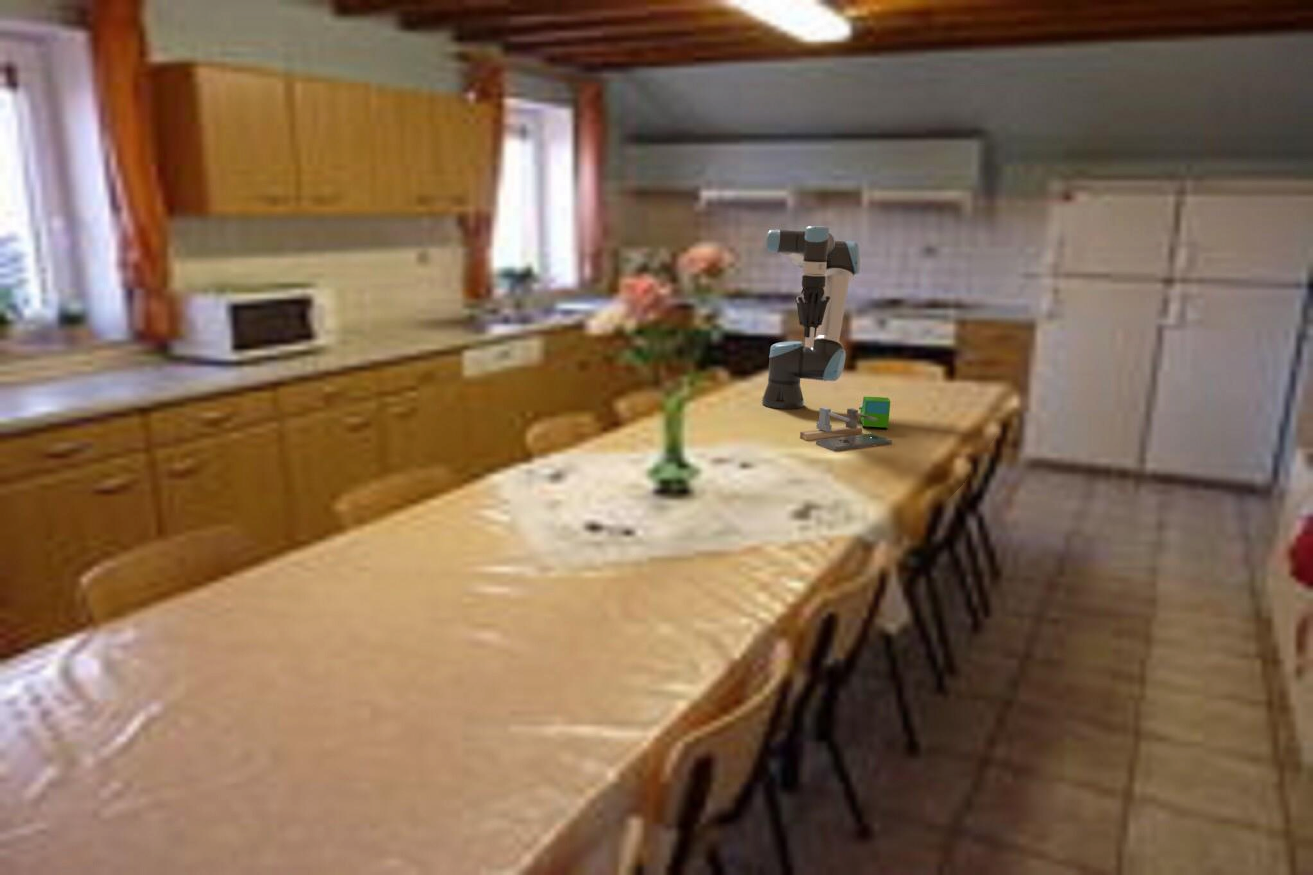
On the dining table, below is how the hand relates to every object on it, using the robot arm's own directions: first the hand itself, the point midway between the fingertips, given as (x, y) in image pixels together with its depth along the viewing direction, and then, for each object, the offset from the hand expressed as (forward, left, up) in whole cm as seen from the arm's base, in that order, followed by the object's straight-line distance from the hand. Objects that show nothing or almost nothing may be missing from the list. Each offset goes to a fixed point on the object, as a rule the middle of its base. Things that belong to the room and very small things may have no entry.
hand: (809, 347), depth 312 cm
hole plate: (+27, -1, -26) cm, 38 cm away
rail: (+21, -1, -26) cm, 34 cm away
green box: (+10, +22, -27) cm, 36 cm away
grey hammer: (+20, -4, -24) cm, 32 cm away
